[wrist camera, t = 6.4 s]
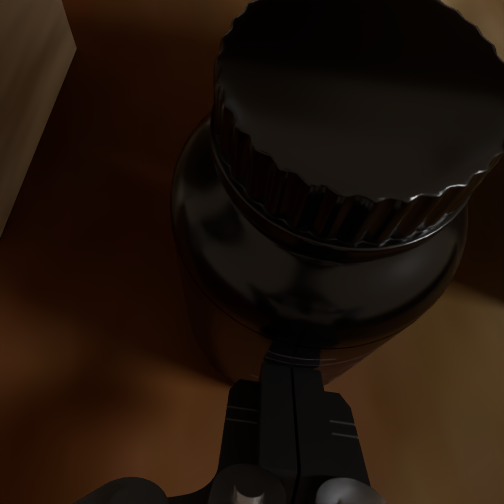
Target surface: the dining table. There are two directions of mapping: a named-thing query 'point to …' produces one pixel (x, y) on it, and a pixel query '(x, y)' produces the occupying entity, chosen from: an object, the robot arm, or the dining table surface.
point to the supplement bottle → (332, 178)
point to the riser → (28, 84)
